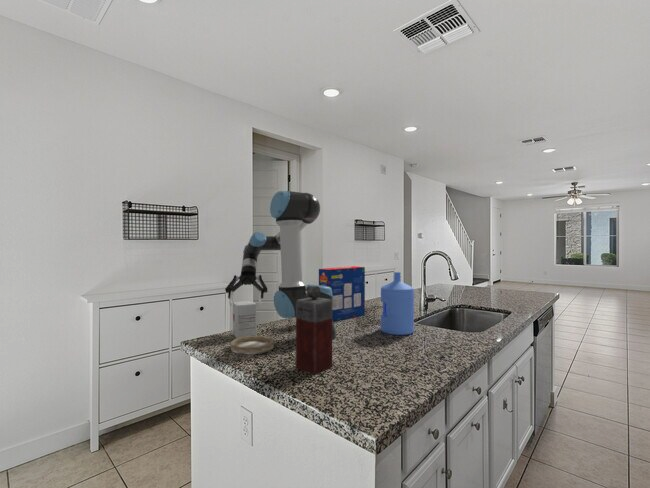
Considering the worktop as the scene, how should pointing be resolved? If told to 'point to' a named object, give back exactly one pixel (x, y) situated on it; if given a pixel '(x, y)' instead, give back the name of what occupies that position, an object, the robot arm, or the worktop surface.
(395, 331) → the water jug
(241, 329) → the supplement box
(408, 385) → the worktop surface
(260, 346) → the tan plate
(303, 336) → the red square bottle
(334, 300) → the blue toy box
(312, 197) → the robot arm
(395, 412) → the worktop surface
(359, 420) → the worktop surface
